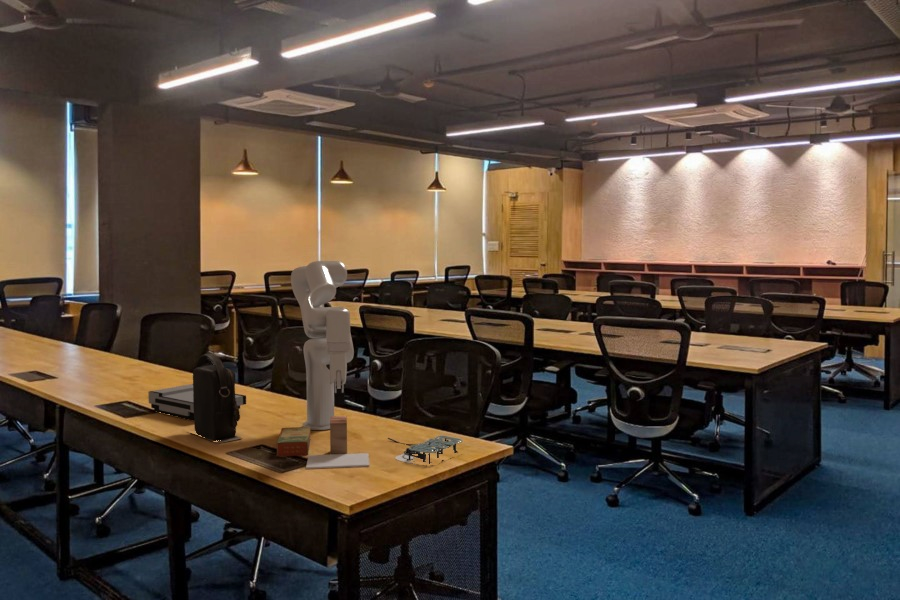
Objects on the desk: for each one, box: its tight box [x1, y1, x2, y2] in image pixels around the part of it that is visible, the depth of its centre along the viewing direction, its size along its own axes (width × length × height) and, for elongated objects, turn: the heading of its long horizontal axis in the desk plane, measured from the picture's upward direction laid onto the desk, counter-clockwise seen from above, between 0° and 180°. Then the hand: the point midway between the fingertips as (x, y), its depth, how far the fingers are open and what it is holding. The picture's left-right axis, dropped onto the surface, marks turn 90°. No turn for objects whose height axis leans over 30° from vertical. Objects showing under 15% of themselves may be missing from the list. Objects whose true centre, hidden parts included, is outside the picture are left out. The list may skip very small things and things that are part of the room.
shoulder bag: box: [192, 352, 243, 444], centre depth 242 cm, size 23×9×28 cm, turn 46°
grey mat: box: [305, 452, 370, 470], centre depth 213 cm, size 12×18×1 cm, turn 98°
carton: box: [276, 426, 312, 458], centre depth 228 cm, size 10×18×5 cm, turn 9°
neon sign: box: [387, 435, 463, 465], centre depth 224 cm, size 21×4×29 cm
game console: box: [148, 383, 247, 421], centre depth 277 cm, size 21×32×8 cm, turn 55°
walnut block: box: [329, 415, 348, 455], centre depth 221 cm, size 5×5×11 cm
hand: (339, 404), depth 229 cm, fingers closed
